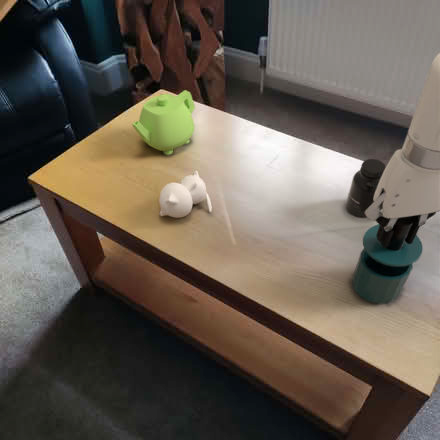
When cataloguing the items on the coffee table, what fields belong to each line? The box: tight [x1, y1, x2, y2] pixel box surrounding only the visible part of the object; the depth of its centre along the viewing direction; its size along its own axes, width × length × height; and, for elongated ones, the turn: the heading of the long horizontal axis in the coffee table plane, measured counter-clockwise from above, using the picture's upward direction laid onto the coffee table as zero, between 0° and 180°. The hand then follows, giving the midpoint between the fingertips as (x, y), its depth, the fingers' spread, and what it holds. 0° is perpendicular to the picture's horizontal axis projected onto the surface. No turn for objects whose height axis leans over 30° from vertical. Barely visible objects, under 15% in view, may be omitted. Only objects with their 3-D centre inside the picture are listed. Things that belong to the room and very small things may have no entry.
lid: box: [362, 216, 424, 267], centre depth 73 cm, size 10×10×7 cm
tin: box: [351, 248, 414, 305], centre depth 82 cm, size 9×9×7 cm
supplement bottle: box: [345, 158, 387, 219], centre depth 93 cm, size 7×7×12 cm
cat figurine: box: [158, 170, 213, 219], centre depth 97 cm, size 9×11×12 cm
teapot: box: [131, 89, 196, 155], centre depth 111 cm, size 20×13×13 cm
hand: (394, 239), depth 74 cm, fingers closed on lid, 3 cm apart
